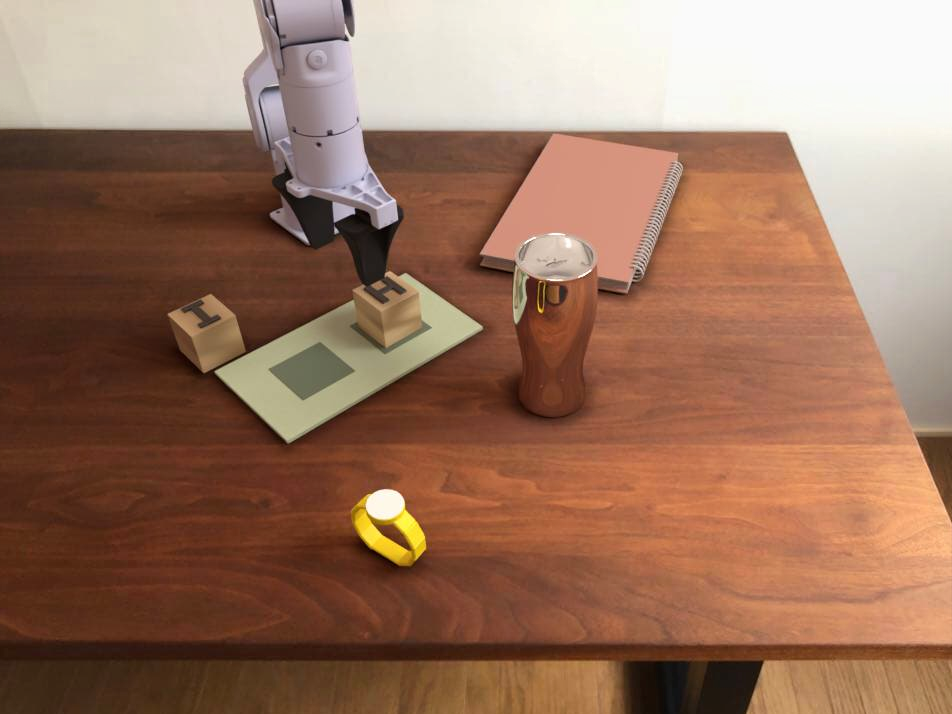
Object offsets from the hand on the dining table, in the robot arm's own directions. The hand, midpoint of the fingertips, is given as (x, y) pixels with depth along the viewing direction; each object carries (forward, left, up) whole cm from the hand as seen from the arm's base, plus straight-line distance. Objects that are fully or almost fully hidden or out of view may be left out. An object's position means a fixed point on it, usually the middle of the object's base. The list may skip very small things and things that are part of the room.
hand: (347, 262), depth 80 cm
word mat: (+2, +2, -8) cm, 9 cm away
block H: (-2, +2, -8) cm, 8 cm away
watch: (+14, +23, -9) cm, 28 cm away
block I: (+12, -7, -8) cm, 16 cm away
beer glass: (-7, +19, -9) cm, 22 cm away
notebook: (-31, +1, -9) cm, 33 cm away
